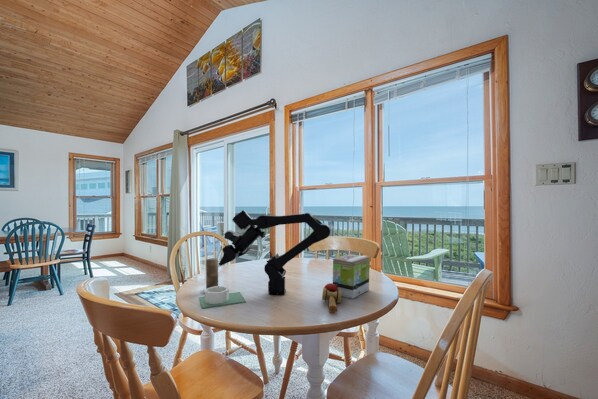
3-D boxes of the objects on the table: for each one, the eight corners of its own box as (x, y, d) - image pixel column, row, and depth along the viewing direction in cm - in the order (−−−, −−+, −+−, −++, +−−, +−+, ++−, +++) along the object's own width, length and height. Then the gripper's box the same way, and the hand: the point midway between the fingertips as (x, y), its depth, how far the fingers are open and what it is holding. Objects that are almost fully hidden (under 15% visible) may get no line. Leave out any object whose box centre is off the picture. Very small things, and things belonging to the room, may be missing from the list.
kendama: (346, 317, 96) (341, 293, 114) (343, 300, 95) (338, 278, 113) (324, 321, 97) (322, 296, 115) (320, 303, 96) (319, 281, 114)
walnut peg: (219, 287, 125) (219, 258, 125) (215, 291, 120) (215, 260, 120) (208, 287, 126) (208, 258, 126) (204, 291, 121) (204, 260, 121)
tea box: (354, 299, 110) (354, 261, 110) (331, 294, 116) (331, 258, 116) (369, 290, 122) (369, 255, 122) (348, 285, 128) (348, 253, 128)
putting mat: (239, 292, 118) (239, 282, 118) (246, 302, 107) (246, 290, 107) (199, 298, 112) (199, 287, 112) (201, 308, 101) (201, 296, 101)
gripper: (243, 222, 131) (221, 245, 132) (227, 225, 112) (201, 252, 114) (260, 239, 129) (237, 263, 131) (246, 246, 111) (219, 273, 113)
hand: (224, 262), depth 122 cm, fingers open, 9 cm apart
